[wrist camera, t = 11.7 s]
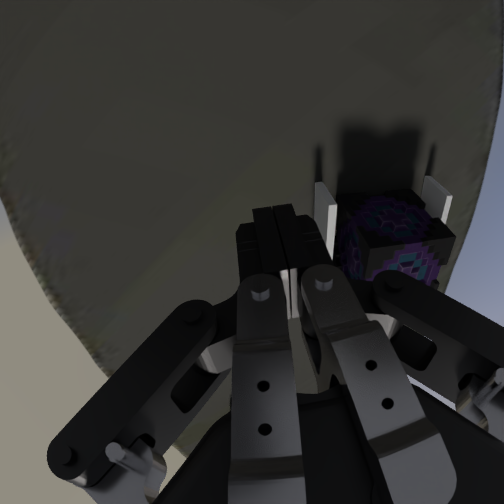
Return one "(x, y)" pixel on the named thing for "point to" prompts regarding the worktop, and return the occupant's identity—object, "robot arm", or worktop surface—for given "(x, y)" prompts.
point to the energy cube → (390, 237)
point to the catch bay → (327, 207)
